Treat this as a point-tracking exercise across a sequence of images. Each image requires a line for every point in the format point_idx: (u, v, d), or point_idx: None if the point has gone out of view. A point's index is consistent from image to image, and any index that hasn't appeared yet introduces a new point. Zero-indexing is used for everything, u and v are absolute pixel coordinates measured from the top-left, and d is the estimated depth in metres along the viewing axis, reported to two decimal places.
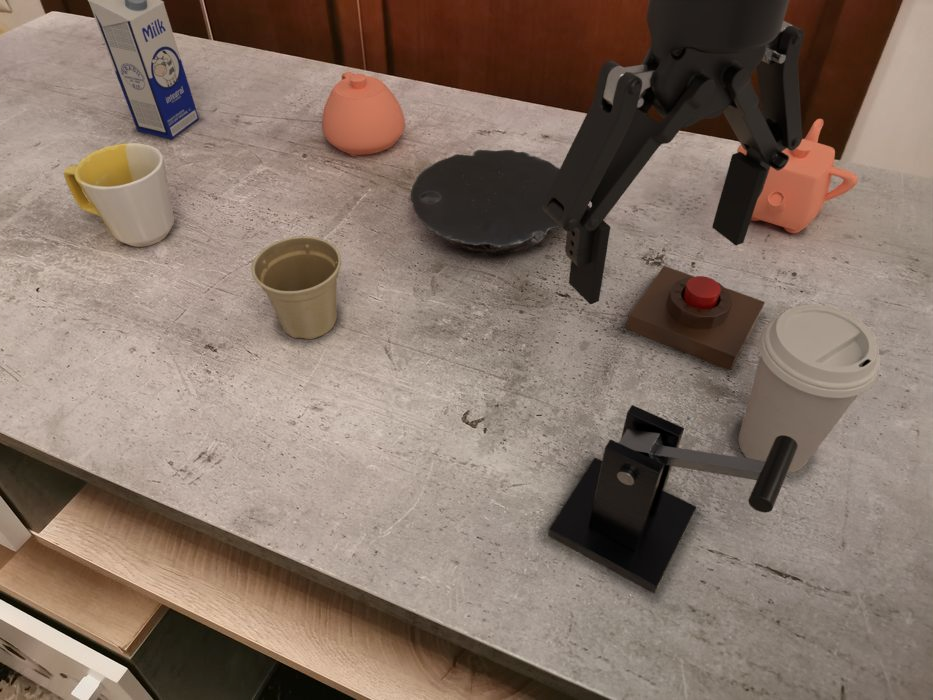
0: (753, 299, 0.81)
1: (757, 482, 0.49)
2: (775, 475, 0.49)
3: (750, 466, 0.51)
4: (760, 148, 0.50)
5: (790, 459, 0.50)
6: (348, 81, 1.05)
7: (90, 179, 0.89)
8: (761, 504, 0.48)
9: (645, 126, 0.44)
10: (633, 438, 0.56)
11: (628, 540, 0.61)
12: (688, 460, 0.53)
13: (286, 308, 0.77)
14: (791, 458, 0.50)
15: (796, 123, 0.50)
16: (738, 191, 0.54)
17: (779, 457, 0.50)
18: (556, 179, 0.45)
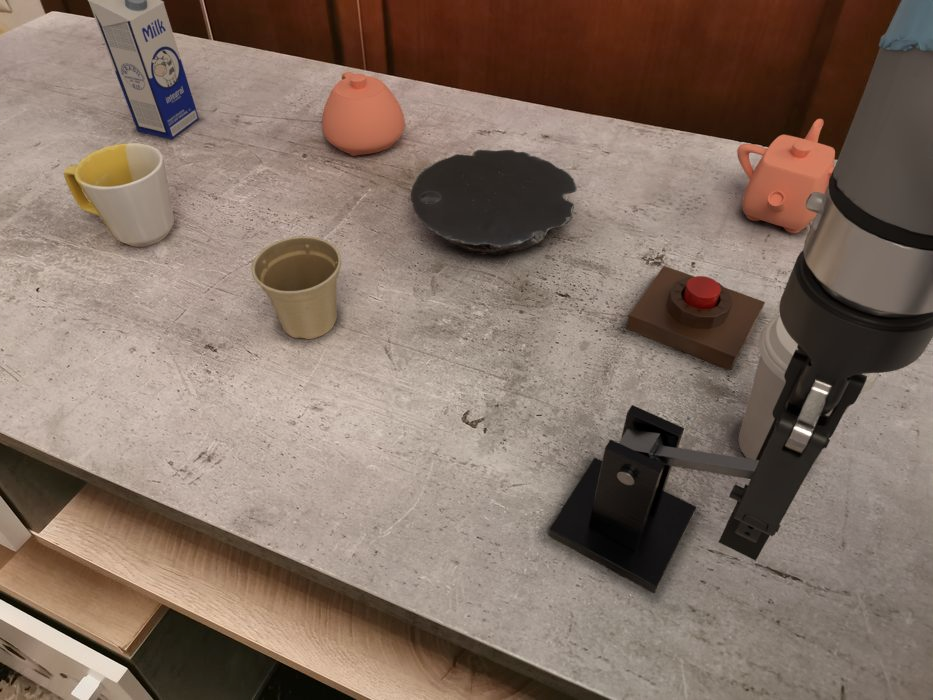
0: (753, 299, 0.81)
1: None
2: None
3: (750, 466, 0.51)
4: (822, 414, 0.49)
5: None
6: (348, 81, 1.05)
7: (90, 179, 0.89)
8: None
9: None
10: (633, 438, 0.56)
11: (628, 540, 0.61)
12: (688, 460, 0.53)
13: (286, 308, 0.77)
14: None
15: None
16: None
17: None
18: (744, 500, 0.44)
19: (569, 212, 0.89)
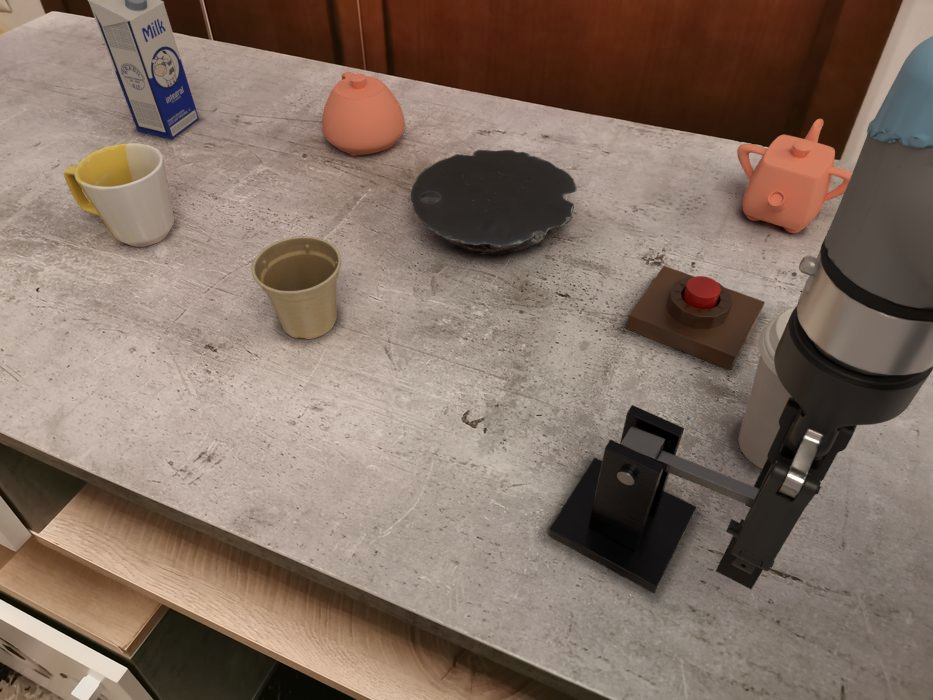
0: (753, 299, 0.81)
1: None
2: None
3: (752, 494, 0.52)
4: None
5: None
6: (348, 81, 1.05)
7: (90, 179, 0.89)
8: None
9: None
10: (638, 438, 0.56)
11: (628, 540, 0.61)
12: (691, 473, 0.54)
13: (286, 308, 0.77)
14: None
15: None
16: None
17: None
18: (740, 538, 0.46)
19: (569, 212, 0.89)
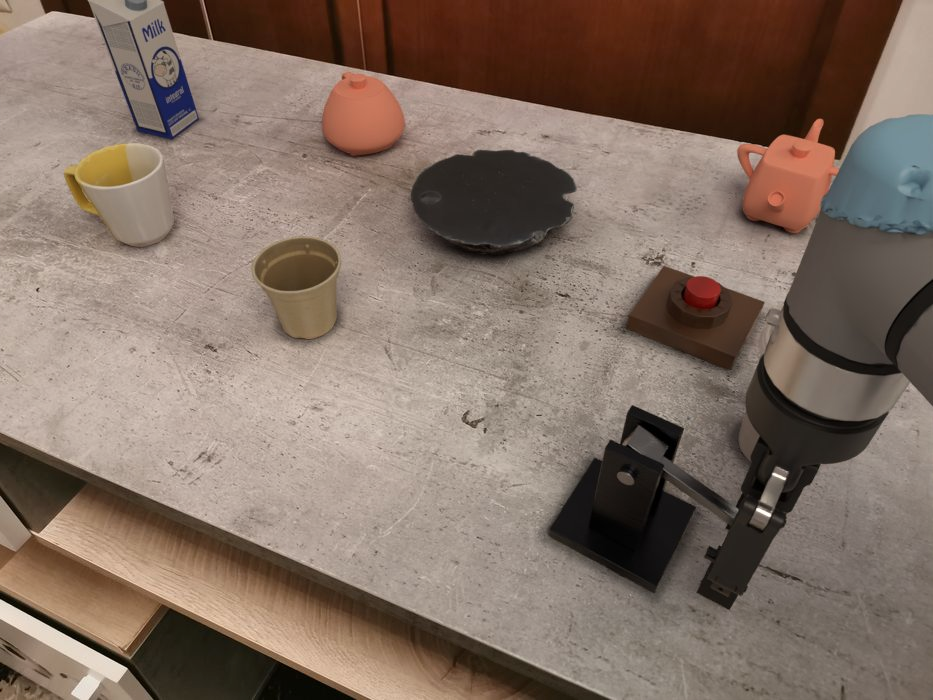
0: (753, 299, 0.81)
1: None
2: None
3: None
4: None
5: None
6: (348, 81, 1.05)
7: (90, 179, 0.89)
8: None
9: None
10: (644, 440, 0.56)
11: (628, 540, 0.61)
12: (686, 486, 0.55)
13: (286, 308, 0.77)
14: None
15: None
16: None
17: None
18: (716, 565, 0.49)
19: (569, 212, 0.89)
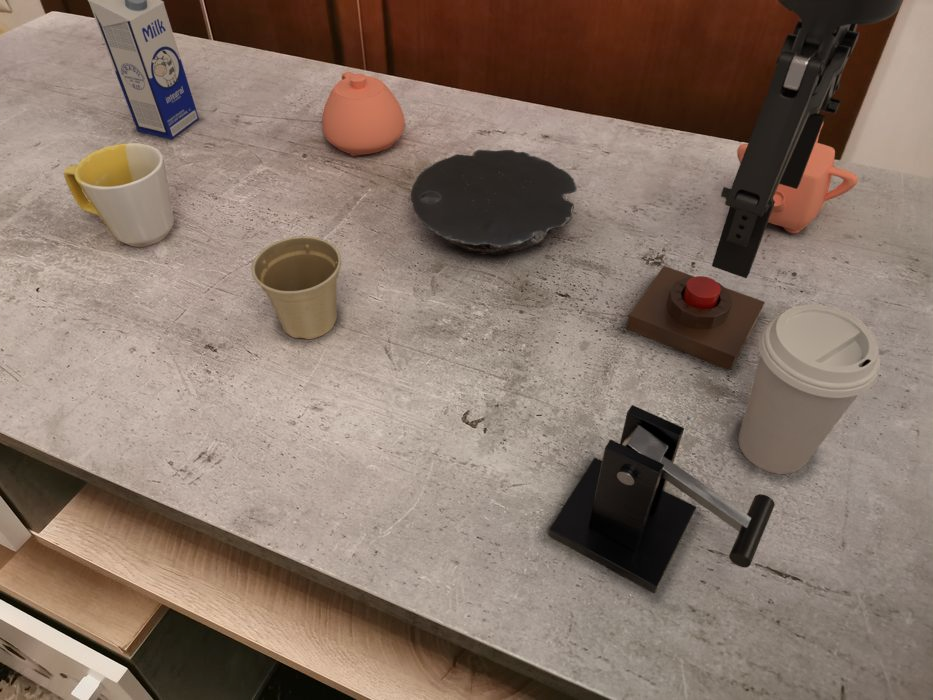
0: (753, 299, 0.81)
1: (743, 539, 0.54)
2: (758, 538, 0.54)
3: (738, 517, 0.55)
4: (827, 98, 0.56)
5: (767, 522, 0.56)
6: (348, 81, 1.05)
7: (90, 179, 0.89)
8: (740, 561, 0.53)
9: None
10: (644, 440, 0.56)
11: (628, 540, 0.61)
12: (686, 486, 0.55)
13: (286, 308, 0.77)
14: (767, 520, 0.56)
15: None
16: (797, 141, 0.60)
17: (764, 520, 0.55)
18: (739, 172, 0.47)
19: (569, 212, 0.89)
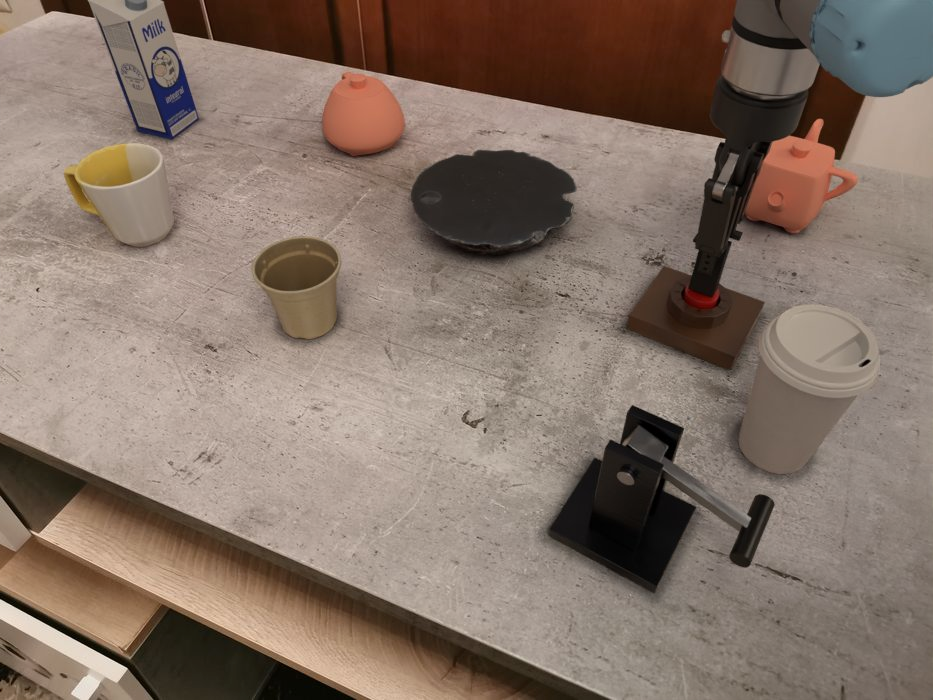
0: (753, 299, 0.81)
1: (743, 539, 0.54)
2: (758, 538, 0.54)
3: (738, 517, 0.55)
4: (737, 219, 0.72)
5: (767, 522, 0.56)
6: (348, 81, 1.05)
7: (90, 179, 0.89)
8: (740, 561, 0.53)
9: None
10: (644, 440, 0.56)
11: (628, 540, 0.61)
12: (686, 486, 0.55)
13: (286, 308, 0.77)
14: (767, 520, 0.56)
15: (747, 202, 0.74)
16: None
17: (764, 520, 0.55)
18: (698, 236, 0.70)
19: (569, 212, 0.89)
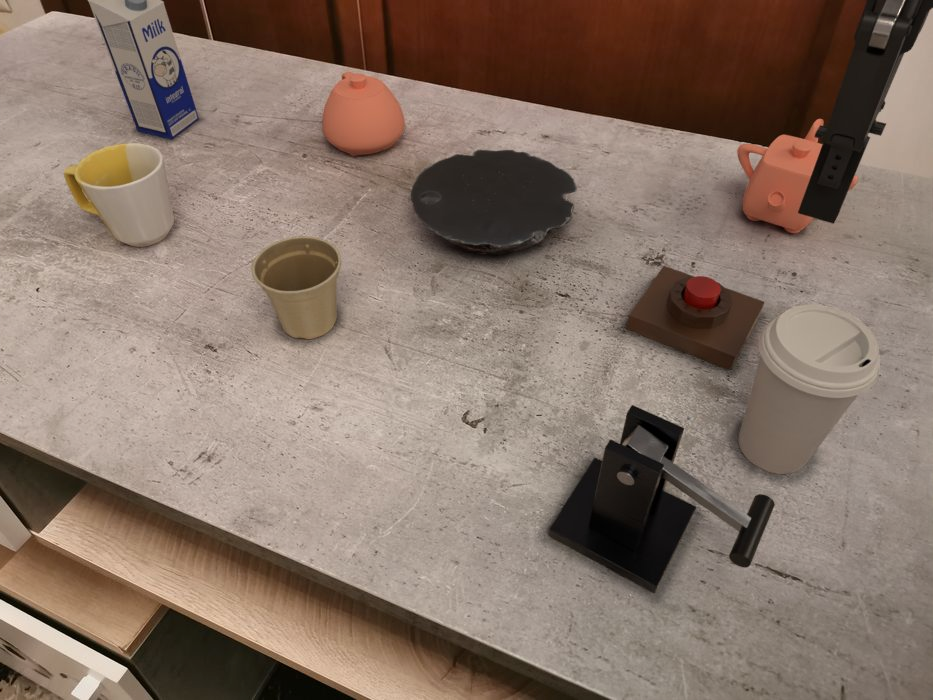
0: (753, 299, 0.81)
1: (743, 539, 0.54)
2: (758, 538, 0.54)
3: (738, 517, 0.55)
4: (883, 99, 0.50)
5: (767, 522, 0.56)
6: (348, 81, 1.05)
7: (90, 179, 0.89)
8: (740, 561, 0.53)
9: None
10: (644, 440, 0.56)
11: (628, 540, 0.61)
12: (686, 486, 0.55)
13: (286, 308, 0.77)
14: (767, 520, 0.56)
15: (892, 79, 0.51)
16: None
17: (764, 520, 0.55)
18: (832, 119, 0.47)
19: (569, 212, 0.89)
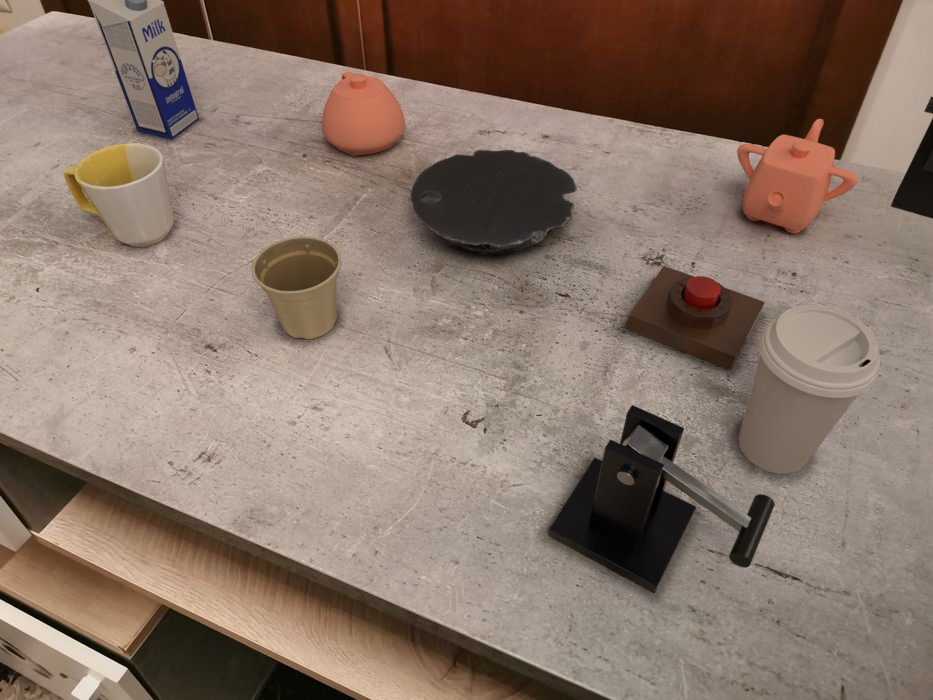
0: (753, 299, 0.81)
1: (743, 539, 0.54)
2: (758, 538, 0.54)
3: (738, 517, 0.55)
4: None
5: (767, 522, 0.56)
6: (348, 81, 1.05)
7: (90, 179, 0.89)
8: (740, 561, 0.53)
9: None
10: (644, 440, 0.56)
11: (628, 540, 0.61)
12: (686, 486, 0.55)
13: (286, 308, 0.77)
14: (767, 520, 0.56)
15: None
16: None
17: (764, 520, 0.55)
18: None
19: (569, 212, 0.89)
